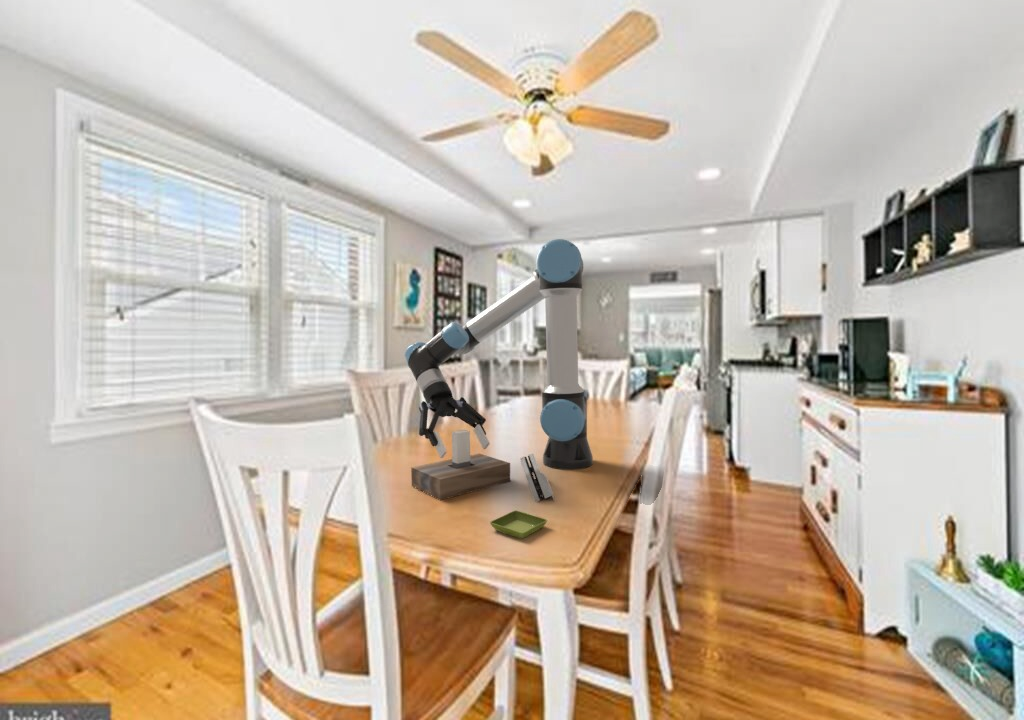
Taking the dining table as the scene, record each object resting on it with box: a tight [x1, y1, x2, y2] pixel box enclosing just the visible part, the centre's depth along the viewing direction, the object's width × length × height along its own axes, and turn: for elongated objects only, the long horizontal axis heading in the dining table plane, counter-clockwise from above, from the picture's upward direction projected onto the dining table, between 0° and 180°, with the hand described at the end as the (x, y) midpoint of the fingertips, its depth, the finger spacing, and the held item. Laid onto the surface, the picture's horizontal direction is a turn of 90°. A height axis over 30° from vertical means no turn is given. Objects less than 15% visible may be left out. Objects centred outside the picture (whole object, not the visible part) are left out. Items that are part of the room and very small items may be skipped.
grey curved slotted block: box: [520, 453, 556, 502], centre depth 121 cm, size 17×5×10 cm, turn 3°
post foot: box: [410, 453, 511, 500], centre depth 127 cm, size 14×22×5 cm, turn 130°
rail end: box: [451, 429, 471, 469], centre depth 127 cm, size 2×4×13 cm, turn 130°
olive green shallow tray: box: [489, 510, 548, 539], centre depth 97 cm, size 9×9×2 cm
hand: (466, 450), depth 125 cm, fingers open, 13 cm apart
